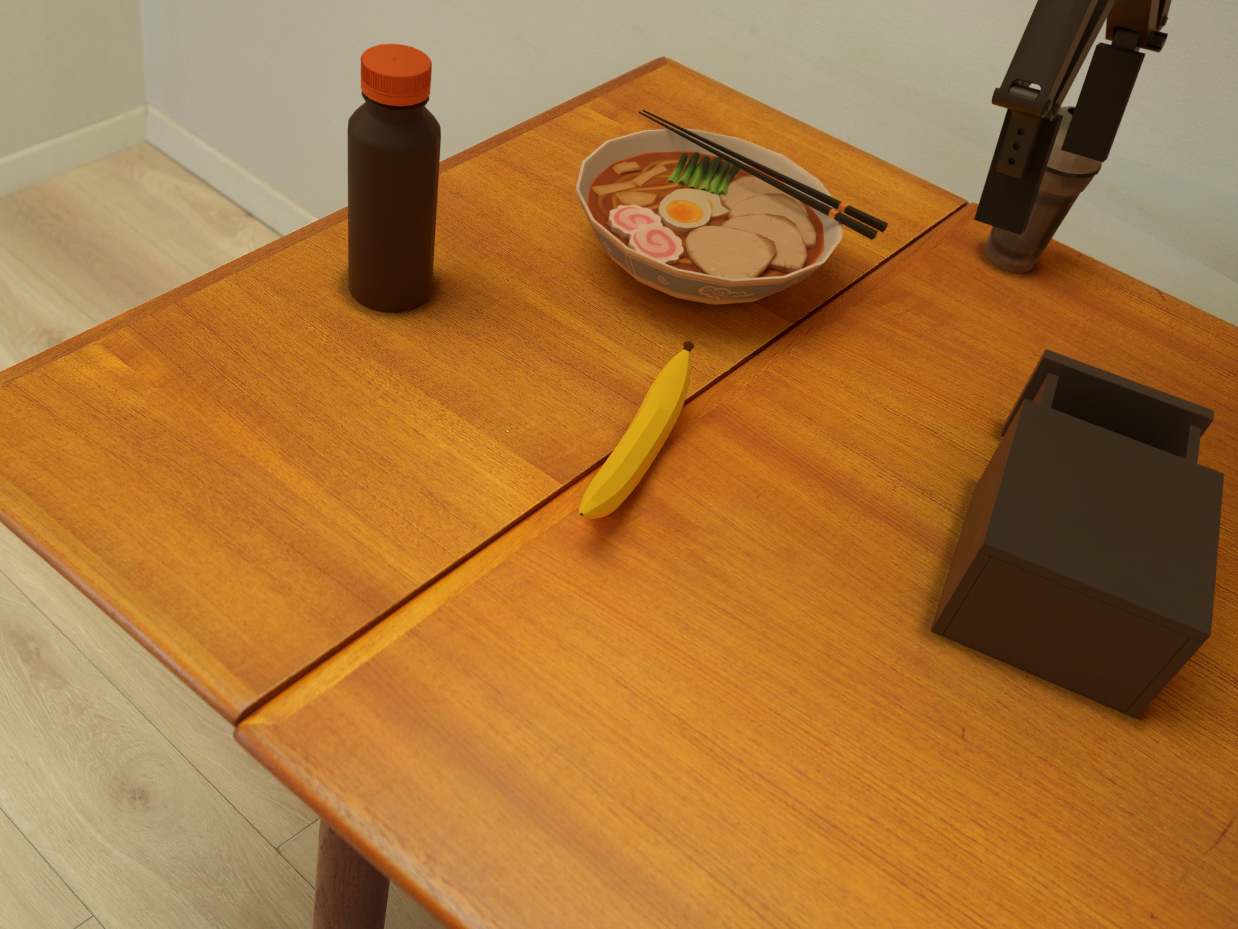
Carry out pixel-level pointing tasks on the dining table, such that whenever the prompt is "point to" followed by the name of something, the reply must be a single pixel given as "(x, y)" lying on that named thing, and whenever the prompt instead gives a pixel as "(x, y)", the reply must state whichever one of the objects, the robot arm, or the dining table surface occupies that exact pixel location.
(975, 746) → the dining table surface
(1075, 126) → the robot arm
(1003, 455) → the cabinet
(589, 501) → the banana
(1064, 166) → the beverage cup
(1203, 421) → the drawer
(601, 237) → the ramen bowl
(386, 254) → the bottle
